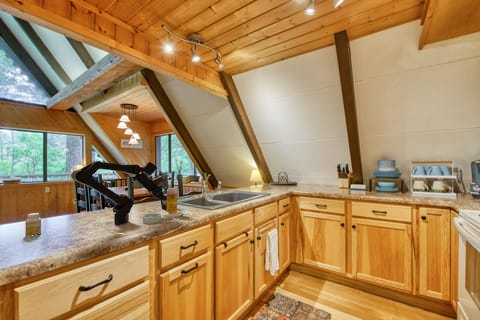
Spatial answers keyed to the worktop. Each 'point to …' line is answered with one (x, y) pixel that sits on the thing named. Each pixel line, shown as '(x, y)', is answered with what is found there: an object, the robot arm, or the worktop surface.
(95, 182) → the robot arm
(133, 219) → the worktop surface
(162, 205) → the coffee mug
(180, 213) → the trivet
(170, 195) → the yellow bottle
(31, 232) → the supplement bottle
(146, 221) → the bowl
